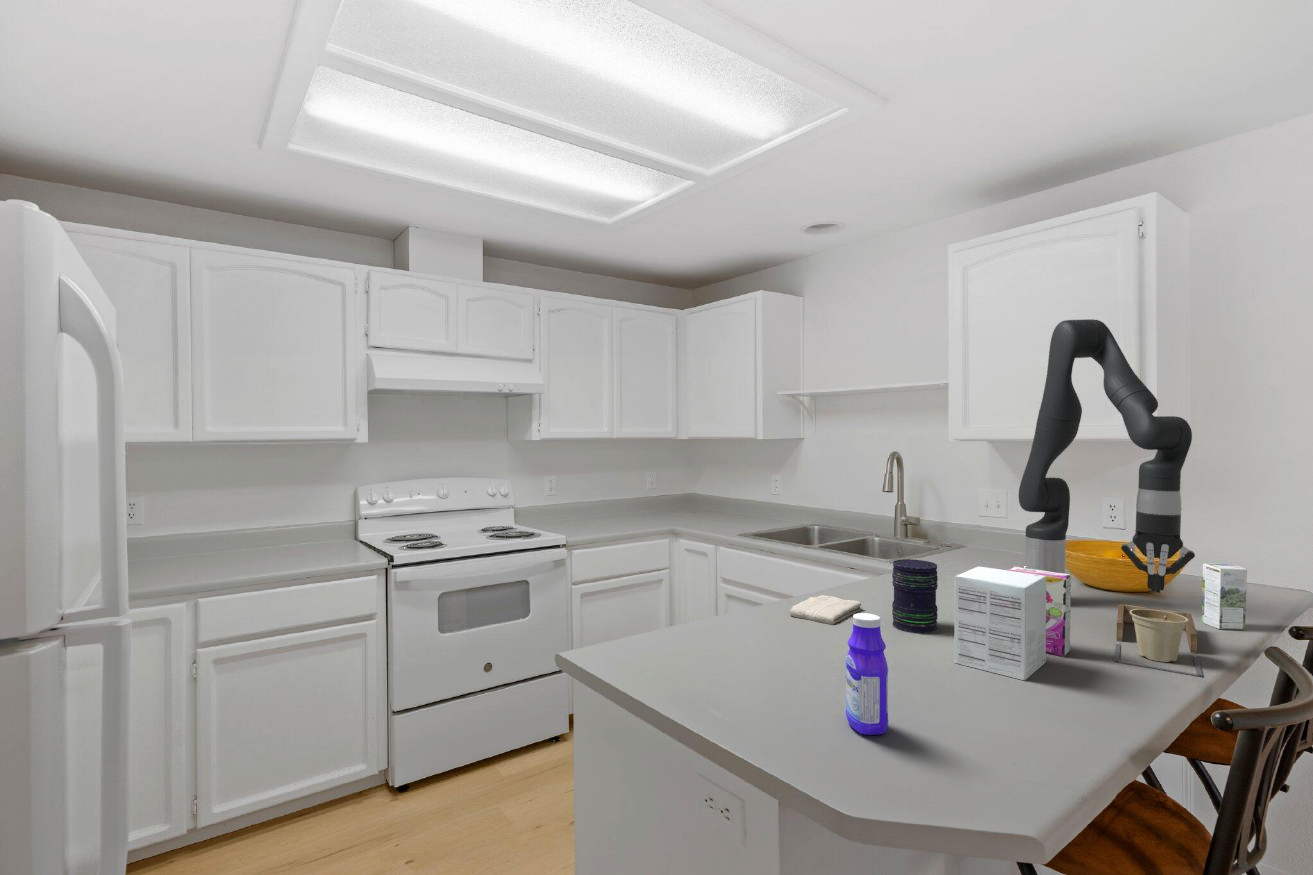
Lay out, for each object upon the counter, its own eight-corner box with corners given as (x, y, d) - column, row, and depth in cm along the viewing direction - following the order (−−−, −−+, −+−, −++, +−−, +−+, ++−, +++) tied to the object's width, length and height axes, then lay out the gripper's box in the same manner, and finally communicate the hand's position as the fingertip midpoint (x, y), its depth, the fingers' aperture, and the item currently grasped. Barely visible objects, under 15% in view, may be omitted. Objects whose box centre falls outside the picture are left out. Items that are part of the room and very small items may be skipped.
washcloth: (863, 610, 167) (863, 598, 167) (834, 627, 153) (834, 614, 153) (820, 603, 175) (820, 591, 175) (788, 618, 161) (788, 606, 161)
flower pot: (1170, 650, 135) (1170, 609, 135) (1198, 667, 126) (1199, 623, 126) (1120, 648, 137) (1120, 607, 137) (1144, 664, 128) (1144, 620, 128)
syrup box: (1226, 623, 154) (1227, 562, 154) (1246, 630, 149) (1247, 567, 148) (1200, 622, 155) (1201, 562, 155) (1219, 630, 149) (1220, 567, 149)
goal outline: (1114, 661, 129) (1114, 660, 129) (1115, 644, 140) (1115, 643, 140) (1203, 677, 121) (1203, 676, 121) (1198, 657, 131) (1198, 656, 131)
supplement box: (976, 647, 138) (977, 565, 138) (1046, 663, 129) (1047, 575, 128) (952, 663, 129) (952, 575, 129) (1025, 681, 119) (1026, 587, 119)
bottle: (840, 717, 105) (840, 610, 105) (874, 716, 105) (874, 609, 105) (857, 738, 98) (858, 623, 97) (894, 737, 98) (894, 622, 98)
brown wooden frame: (1116, 640, 142) (1116, 622, 142) (1118, 620, 157) (1118, 603, 157) (1196, 653, 134) (1197, 634, 134) (1191, 630, 149) (1191, 613, 149)
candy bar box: (1005, 645, 139) (1005, 569, 139) (1011, 640, 143) (1012, 565, 142) (1065, 658, 131) (1066, 577, 131) (1071, 651, 135) (1071, 573, 135)
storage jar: (891, 630, 149) (891, 566, 149) (892, 619, 158) (892, 558, 158) (938, 635, 146) (938, 569, 145) (937, 623, 155) (937, 561, 154)
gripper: (1119, 510, 138) (1117, 590, 139) (1200, 516, 130) (1197, 601, 131) (1120, 505, 144) (1117, 582, 145) (1197, 511, 136) (1194, 592, 137)
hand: (1155, 591), depth 138 cm, fingers closed
